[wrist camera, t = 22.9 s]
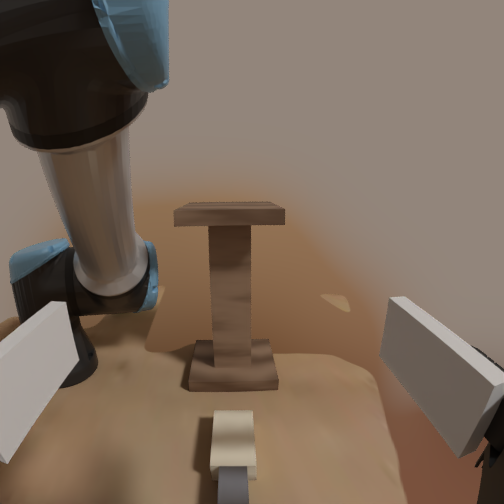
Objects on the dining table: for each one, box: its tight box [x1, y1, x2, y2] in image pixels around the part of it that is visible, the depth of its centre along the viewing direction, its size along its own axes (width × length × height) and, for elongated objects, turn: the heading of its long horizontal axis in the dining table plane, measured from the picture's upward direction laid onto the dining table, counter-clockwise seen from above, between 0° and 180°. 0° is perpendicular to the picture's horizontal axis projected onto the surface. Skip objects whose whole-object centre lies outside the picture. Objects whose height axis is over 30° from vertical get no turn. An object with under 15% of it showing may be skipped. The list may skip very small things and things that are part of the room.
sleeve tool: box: [210, 410, 256, 504], centre depth 27 cm, size 22×5×3 cm, turn 2°
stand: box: [174, 202, 285, 392], centre depth 50 cm, size 16×14×28 cm
